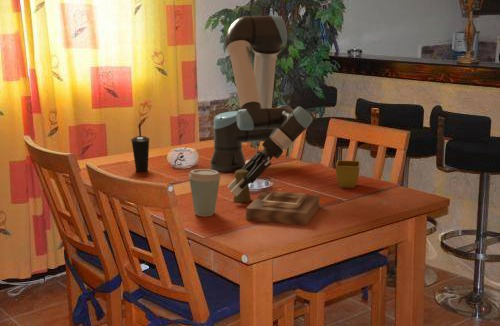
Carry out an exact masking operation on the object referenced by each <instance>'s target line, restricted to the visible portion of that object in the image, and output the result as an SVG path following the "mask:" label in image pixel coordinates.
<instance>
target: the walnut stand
mask: <svg viewBox="0 0 500 326" xmlns="http://www.w3.org/2000/svg"><path fill="white" fill-rule="evenodd" d="M320 198H321V197H320V195H316V194H306V193H301V192H291V191H290V192H286V191H276V190H271V191H267V190H264V191H262V192H261V193H260V194H259V195H258V196H257V197H256V198H254V200H253V201H252V202H251V203H250V204H249V205H248V206H247V207H246V208H245V210H246V211H245V217H246V218H245V220H247V221H255V222H257V221H258V222H265V223H266V222H267V223H275V224H276V223H277V224H279V223H280V224H286V225H296V226H297V225H298V226H307V225H308V223H310V221H311V220H312V218H313V217H314V215H315V214H316V212H317V211H318V209H319V208H320V201H321V200H320Z"/></svg>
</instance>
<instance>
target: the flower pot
mask: <svg viewBox="0 0 500 326" xmlns="http://www.w3.org/2000/svg"><path fill="white" fill-rule="evenodd" d="M360 167H361V161H360V160H342V159H341V160H338V159H337V161H336V164H335V173H336V180H337V183H338V185H339V187H340V188H348V189H351V188H352V189H353V188H355V187H356V185H357V182H358V181H359V174H360Z"/></svg>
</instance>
